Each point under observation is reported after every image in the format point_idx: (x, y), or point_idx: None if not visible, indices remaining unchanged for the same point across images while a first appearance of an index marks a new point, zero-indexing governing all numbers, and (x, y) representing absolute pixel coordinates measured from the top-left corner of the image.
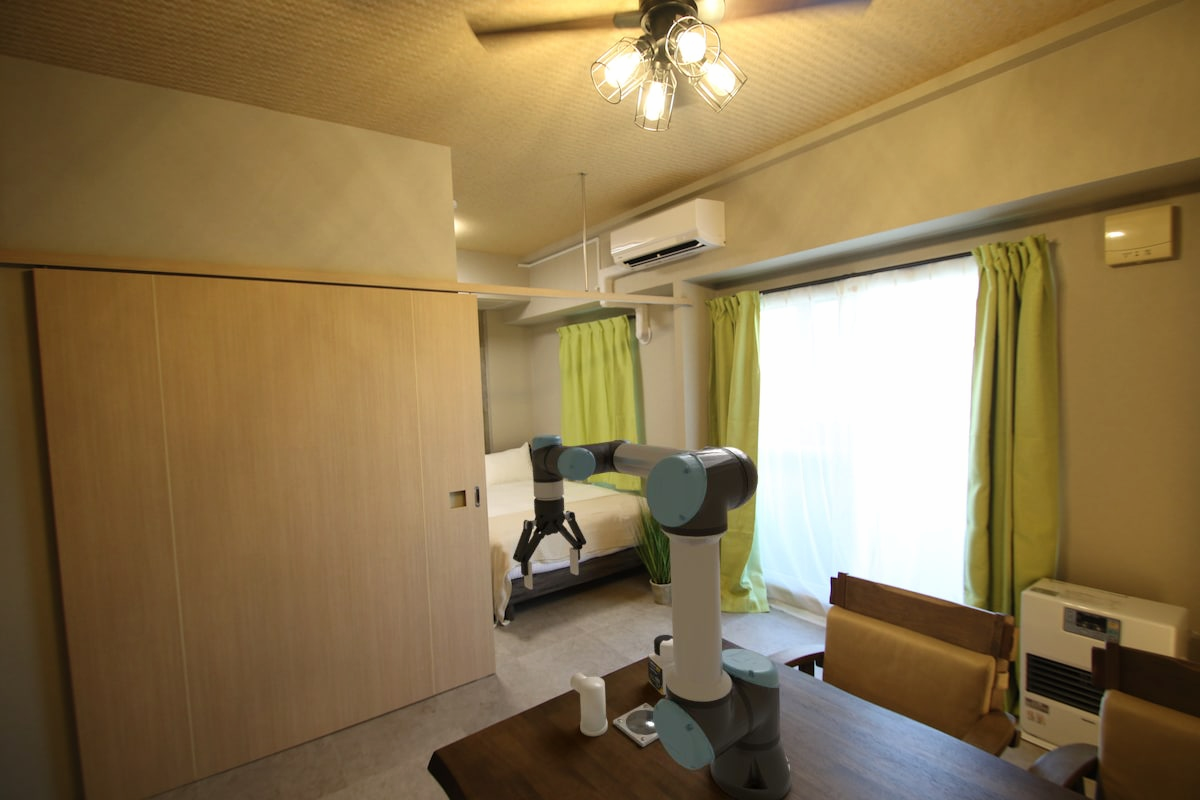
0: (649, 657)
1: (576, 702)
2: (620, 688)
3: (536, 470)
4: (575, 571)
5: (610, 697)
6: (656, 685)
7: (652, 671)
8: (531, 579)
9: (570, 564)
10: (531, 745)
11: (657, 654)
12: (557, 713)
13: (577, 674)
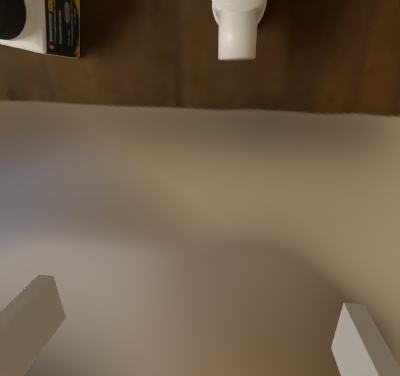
0: (45, 42)
1: (219, 95)
2: (133, 76)
3: None
4: (41, 295)
5: (163, 65)
6: (75, 21)
7: (62, 33)
8: (381, 362)
9: (33, 357)
10: (356, 39)
11: (24, 3)
12: (263, 90)
13: (239, 47)
